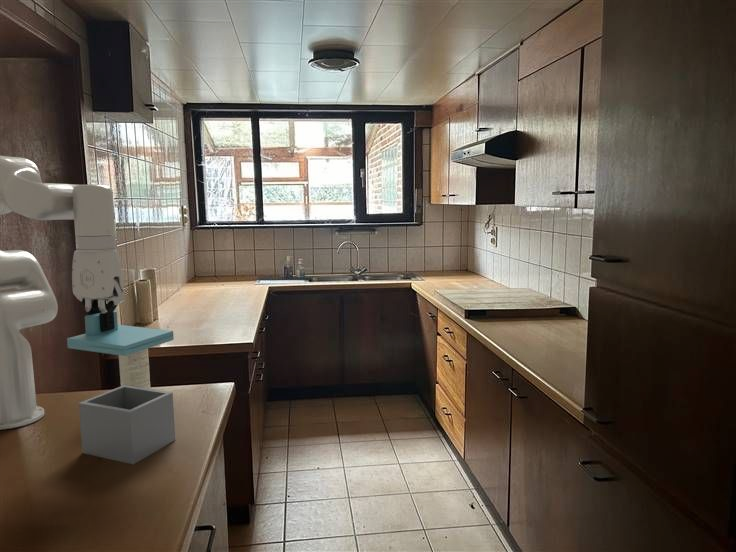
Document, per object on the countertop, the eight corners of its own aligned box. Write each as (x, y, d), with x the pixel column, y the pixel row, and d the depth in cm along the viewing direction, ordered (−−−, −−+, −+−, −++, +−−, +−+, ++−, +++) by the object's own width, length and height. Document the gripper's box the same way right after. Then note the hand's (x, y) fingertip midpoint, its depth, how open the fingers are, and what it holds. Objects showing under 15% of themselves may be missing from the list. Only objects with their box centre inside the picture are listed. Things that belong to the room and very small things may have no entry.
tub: (82, 453, 112) (78, 403, 110) (127, 430, 123) (124, 385, 121) (133, 464, 106) (129, 412, 105) (175, 440, 118) (172, 392, 116)
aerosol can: (145, 402, 140) (141, 328, 138) (155, 409, 136) (151, 333, 133) (118, 409, 136) (113, 333, 133) (128, 416, 131) (122, 337, 128)
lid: (67, 347, 108) (65, 319, 107) (119, 333, 121) (118, 307, 120) (125, 356, 103) (123, 325, 102) (173, 339, 115) (172, 312, 114)
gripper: (52, 244, 110) (59, 330, 113) (110, 246, 104) (116, 337, 107) (83, 242, 117) (89, 323, 120) (139, 244, 111) (144, 329, 114)
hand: (102, 329), depth 113 cm, fingers closed on lid, 2 cm apart
